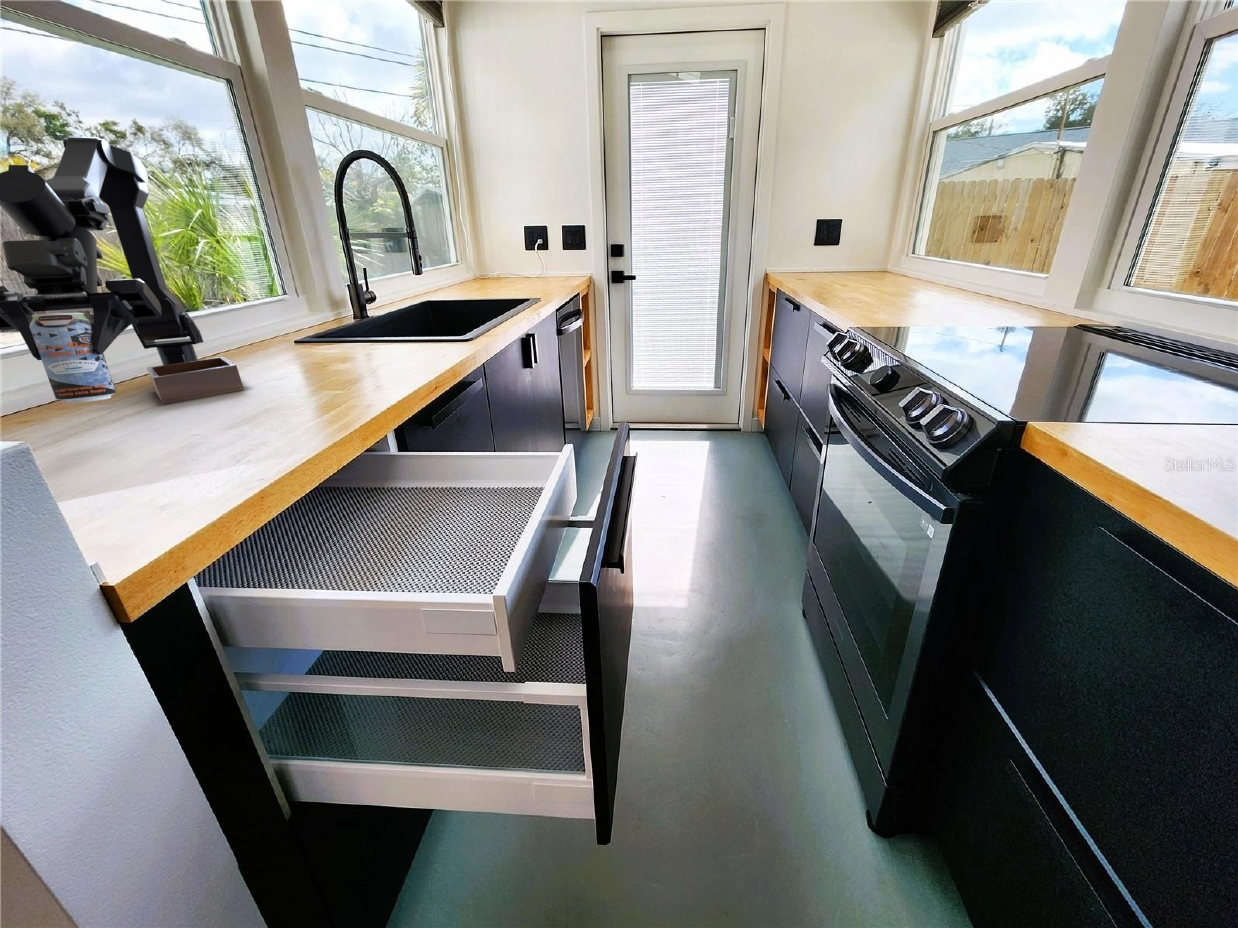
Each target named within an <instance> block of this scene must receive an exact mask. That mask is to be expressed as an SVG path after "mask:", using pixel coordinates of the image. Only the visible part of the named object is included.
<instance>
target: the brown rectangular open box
mask: <svg viewBox="0 0 1238 928" xmlns="http://www.w3.org/2000/svg"><path fill="white" fill-rule="evenodd" d="M146 370H147V374H148V376H149V378H150V380H151V383H152V386H153V388H154V391H155V394H156V395H157V396H158V398H159V399H160V401H161V403H162V404H163V405H168V404H174V403H179V402H185V401H191V400H195V399H201V398H207V397H211V396H216V395H217V396H218V395H222V394H223V395H224V394H229V393H233V392H240V391H244V390H245V388H244V384H243V382H242V379H241V375H240V372H239V369H238V366H237V364H235V363H234V362H232V361H231V360H230V359H228V358H226V357H225V356H217V357H210V358H204V359H198V360H196V361H189V362H182V363H175V364H169V365H163V364H162V365H154V366H149V367H146Z"/></svg>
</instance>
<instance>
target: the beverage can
mask: <svg viewBox="0 0 1238 928" xmlns="http://www.w3.org/2000/svg"><path fill="white" fill-rule="evenodd" d="M32 317H33V320H32V321H31V323H30V330H31V333H32V335H33V338H34V341H35V343H36V346H37V349H38V352H39V354H40V357H41V360H40V361H41V363H42V366H43V368H44V371H45V373H46V376H47V379H48V381H49V384H50V387H51V390H52V392H53V395H54V398H55V400H58V401H63V402H64V403H65V404H79V403H81V404H82V403H89V402H96V401H104V400H109V399H111V398H112V396H113V395H114V394H116V393H117V390H116V385H115V384H114V381H113V378H112V375H111V371H110V369H109V366H108V362H107V360H106V356H105V354H104V353H105V352H104V353H103V354H101V355H98V354H97V353H96V352H95V351H94V349H93V341H92V338H93V321H92V320H91V319H89V318H88V317H87V316H86V314H85V313H84V312H60V313H53V312H51V313H40V314H39V313H37V314H36V315H32Z"/></svg>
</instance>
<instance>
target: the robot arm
mask: <svg viewBox="0 0 1238 928" xmlns="http://www.w3.org/2000/svg"><path fill="white" fill-rule="evenodd" d="M62 143H63V144H62V145H63V148H64V150H63V152H62V155H61V157H60V160H59V163H58V165H57V168H56V170H55V171H54V175H53V176H52V177H51V178H48V179H44V178H43V177H42V176H41V175H40V174H38V173H36V172H35V170H33V169H32V167H31V166H30V165H29V164H8V166H7V167H8V169H7V170H4V171H2V172H0V208H2V210H3V211H4V212H5V213H6V214H7V215H8V216H9V218H11V219H12V220H13V221H14V223H15V224H16V225H17V226H18V227H19V228H20V229H21V230H22V232H24V233H25V234H26V235H32V236H34V237H35V236H36V237H38V239H27V240H5V241H2V248H3V252H4V258H5V262H6V266H7V269H8V270H10V271H12V272H13V271H14V272H16V273H17V274H19V275H21V276H23V284H24V285H26V287H27V288H28V289H30V290H36V293H32V294H31V293H30V294H21V293H19V292H16V291H10V290H9V289H8V288H7V287H5V286H4V285H0V331H11V330H16V331H17V332H19V333H20V336H21V337H22V339H23V341H24V343H25V345H26V346H27V348H28V350H29V352H30V353H31V355H32V357H33V358H34V359H36V360H37V361H42V360H41V357H40V354H39V352H38V349H37V346H36V343H35V341H34V338H33V335H32V333H31V330H30V323H31V321H32V320H33V317H32V315H36V314H38V313H40V312H51V313H76V312H87V311H93V321H92V322H93V338H92V341H93V349H94V351H95V352H96V353H97V354H98V355H101V354H103V353H105V352H106V351H107V349H109V347H110V346H111V344H112V343H113V342H114V341H115V340H116V339H117V338H118V337H119V336H120V335H121V334H122V333H123V332H124V331H125V330H126V329H127V328H129V327H130V326H132V328H133V331H134V332H135V334H136V336H137V338H138V340H139V342H140V343H141V345H142V347H143V349H144V350H148V349H154V348H156V351H157V353H158V355H159V358H160V361H161V364H162V365H169V364H175V363H182V362H189V361H196V360H199V359H198V355H197V352H196V350H195V347H194V345H197V344H198V345H199V344H202V343H204V339H203V335H202V333H201V331H200V329H199V328H198V326H197V324H196V323H195V321H194V320H193V319H192V318H191V316H190V315H189V313H187V312H186V310H185V308H184V304H182V302H180V301H179V300H178V299H177V298H176V297H175V296H173V294H172V293H171V292H169V290H168V287H167V284H166V280H165V278H164V277H165V276H164V275H163V274H164V273H163V271H162V267H161V264H160V261H159V257H158V255H157V251H156V249H155V245H154V242H153V239H152V236H151V232H150V229H149V226H148V223H147V220H146V216H145V213H144V207H145V205H146V203H147V200H148V198H149V195H150V193H149V189H148V186H147V183H148V182H149V178H148V174H147V171H146V168H145V166H144V164H143V163H142V161H141V160H139V159H138V158H137V157H136V156H135V155H134V153H132V152H130V151H127V150H125V149H123V148H120V147H117V146H114V145H112V144H110V143H108V141H106V140H105V139H103V138H99V137H98V136H68V137H67V138H66V137H64V138H63V139H62ZM109 214H110V215H111V218H112V222H113V225H114V227H115V230H116V233H117V236H118V239H119V243H120V246H121V249H122V252H123V255H124V258H125V260H126V264H127V267H128V270H129V273H130V276H131V278H125V279H108V280H105V281H104V282H105V283H104V285H105V288H106V290H107V291H106V292H98V287H103V280H102V278H101V277H99V275H98V260H99V259H100V260H101V259H104V258H103V253H102V252H101V250H100V249H99V247H98V245H97V239H96V237H95V235H94V234H93V233H92V232H95V231H96V232H97V231H98V232H99V231H100V232H101V231H104V230H105V229H106V227H107V223H108V222H109V220H110V219H109ZM188 337H189V338H188Z"/></svg>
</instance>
